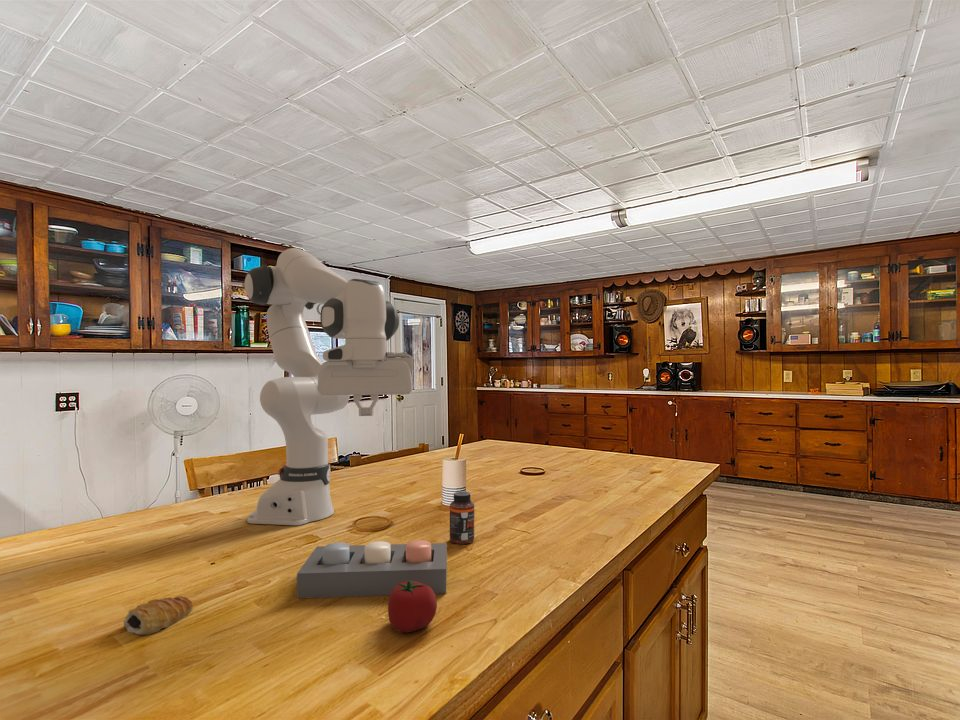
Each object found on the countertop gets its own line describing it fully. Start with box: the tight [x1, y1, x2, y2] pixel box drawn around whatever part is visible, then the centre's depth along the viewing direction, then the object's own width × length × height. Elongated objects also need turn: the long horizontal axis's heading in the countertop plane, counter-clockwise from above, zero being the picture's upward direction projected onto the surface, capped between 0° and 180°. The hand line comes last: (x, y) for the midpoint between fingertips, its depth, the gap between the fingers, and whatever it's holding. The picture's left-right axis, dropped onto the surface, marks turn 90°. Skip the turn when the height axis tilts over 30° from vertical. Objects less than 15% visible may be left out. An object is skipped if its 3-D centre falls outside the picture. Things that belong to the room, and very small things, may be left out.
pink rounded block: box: [405, 539, 431, 562], centre depth 96 cm, size 5×5×6 cm
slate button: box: [323, 542, 350, 565], centre depth 95 cm, size 5×5×6 cm
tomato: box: [387, 581, 438, 634], centre depth 79 cm, size 8×8×7 cm
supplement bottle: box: [449, 491, 475, 545], centre depth 116 cm, size 6×6×11 cm
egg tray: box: [296, 542, 448, 599], centre depth 95 cm, size 27×13×4 cm, turn 93°
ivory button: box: [365, 541, 391, 564], centre depth 95 cm, size 5×5×6 cm
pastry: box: [123, 595, 193, 636], centre depth 81 cm, size 9×7×4 cm
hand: (366, 415), depth 106 cm, fingers closed
